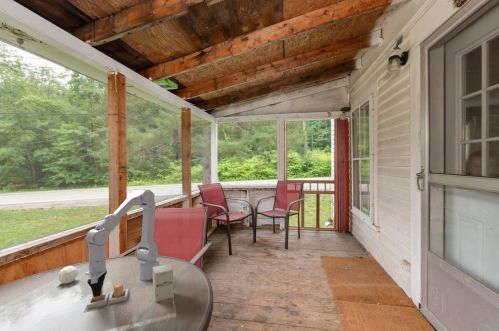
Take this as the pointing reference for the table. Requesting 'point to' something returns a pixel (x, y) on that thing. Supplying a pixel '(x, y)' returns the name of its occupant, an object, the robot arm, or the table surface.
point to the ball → (68, 274)
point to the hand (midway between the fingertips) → (98, 293)
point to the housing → (107, 301)
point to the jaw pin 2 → (118, 290)
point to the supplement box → (163, 282)
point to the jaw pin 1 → (100, 295)
